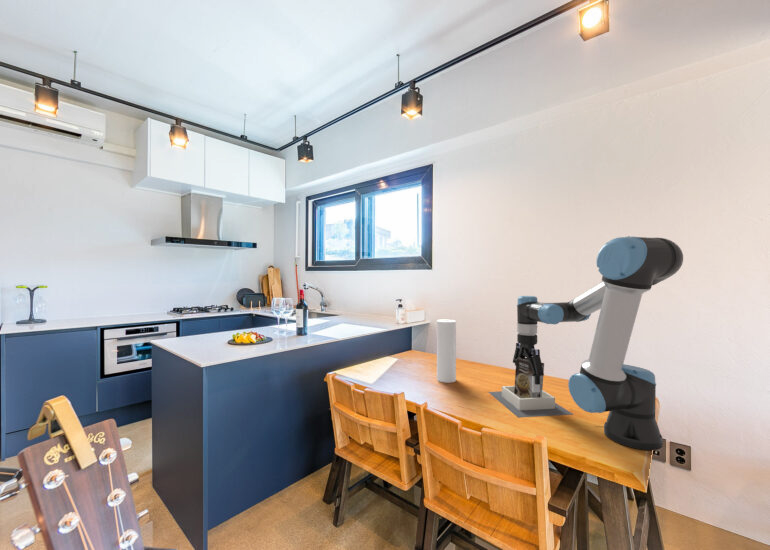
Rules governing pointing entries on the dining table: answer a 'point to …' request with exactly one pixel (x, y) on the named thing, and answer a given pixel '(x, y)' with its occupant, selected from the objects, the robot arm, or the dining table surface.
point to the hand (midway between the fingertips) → (527, 386)
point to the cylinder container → (446, 350)
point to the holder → (528, 400)
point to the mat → (530, 413)
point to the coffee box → (525, 380)
